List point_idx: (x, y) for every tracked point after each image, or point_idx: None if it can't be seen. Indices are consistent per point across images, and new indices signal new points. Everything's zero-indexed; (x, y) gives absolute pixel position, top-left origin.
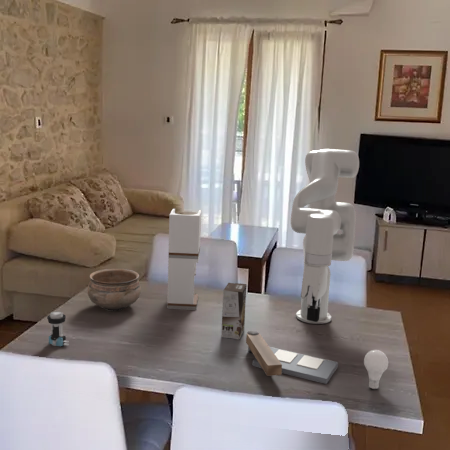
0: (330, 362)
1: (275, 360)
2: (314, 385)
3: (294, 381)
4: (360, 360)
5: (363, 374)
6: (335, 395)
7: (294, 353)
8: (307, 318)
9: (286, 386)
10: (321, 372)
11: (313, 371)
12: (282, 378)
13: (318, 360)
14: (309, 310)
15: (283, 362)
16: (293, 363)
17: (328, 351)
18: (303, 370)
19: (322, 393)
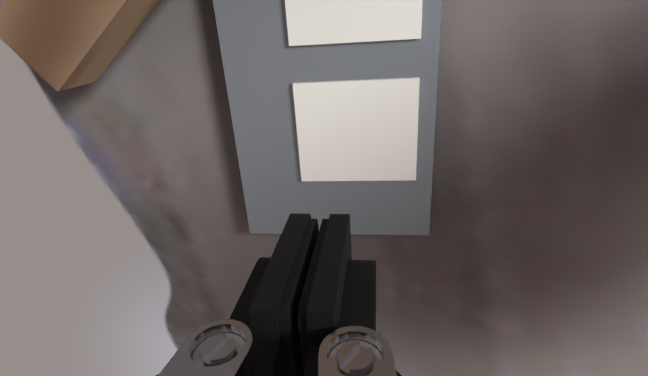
0: (409, 209)
1: (69, 37)
2: (217, 189)
3: (194, 111)
4: (542, 285)
5: (411, 312)
6: (200, 265)
7: (413, 20)
8: (287, 224)
9: (135, 99)
10: (289, 202)
11: (277, 172)
12: (183, 55)
13: (391, 162)
14: (233, 314)
15: (279, 8)
16: (299, 61)
17: (594, 145)
18: (260, 131)
19: (183, 228)
